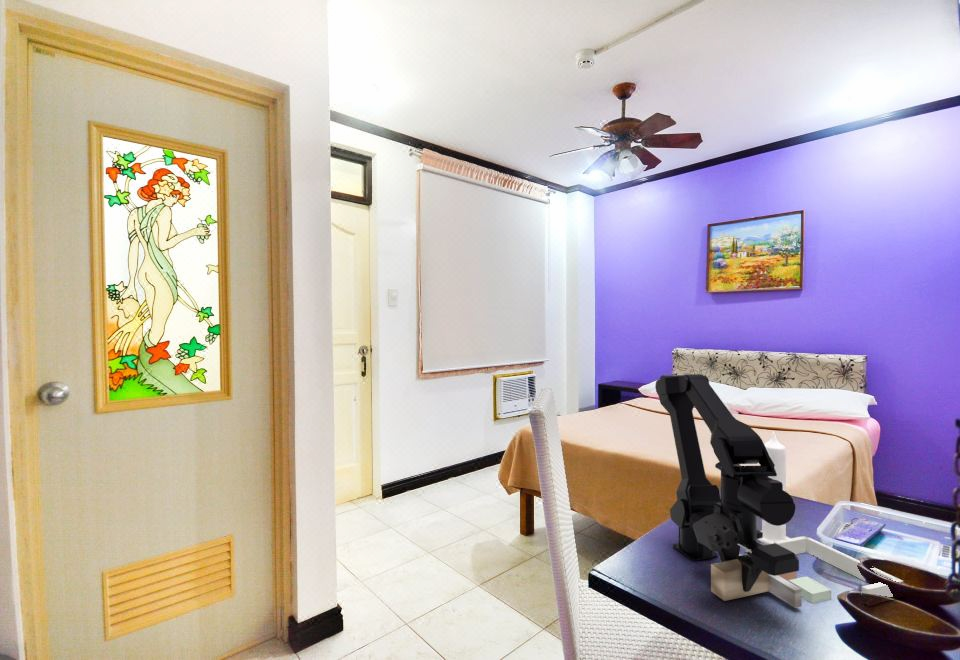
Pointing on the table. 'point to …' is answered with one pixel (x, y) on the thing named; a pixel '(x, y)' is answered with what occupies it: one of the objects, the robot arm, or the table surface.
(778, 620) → the table surface
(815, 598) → the tile sage
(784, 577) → the tile terracotta
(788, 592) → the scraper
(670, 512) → the robot arm
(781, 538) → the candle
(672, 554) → the table surface
